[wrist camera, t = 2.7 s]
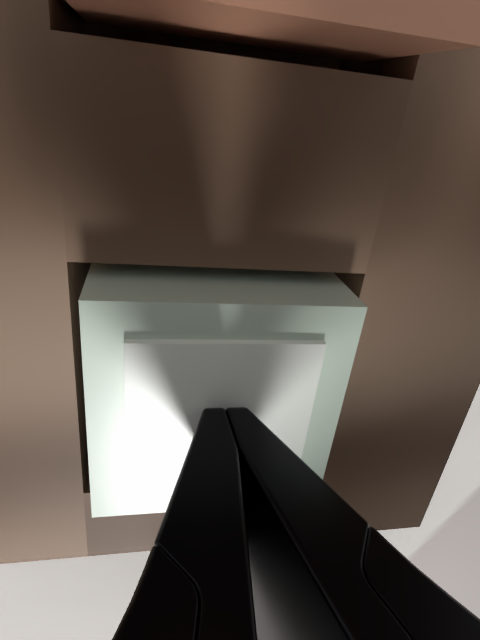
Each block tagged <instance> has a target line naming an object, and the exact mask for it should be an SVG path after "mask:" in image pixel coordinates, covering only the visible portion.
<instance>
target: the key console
mask: <svg viewBox="0 0 480 640" xmlns="http://www.w3.org/2000/svg"><path fill="white" fill-rule="evenodd" d="M91 263H107V264H133V265H158V266H183V267H208V268H233V269H259V270H284V271H309V272H333V273H334V274H335V275H336V276H337V277H338V278H339V279H340V280H341V281H342V282H343V283H344V284H345V285H346V286H347V287H348V288H349V289H350V290H351V291H352V292H353V293H354V294H355V295H356V296H357V297H358V298H359V299H360V300H361V301H362V302H363V303H364V304H365V305H366V306H367V307H368V308H367V312H366V315H365V319H364V323H363V327H362V331H361V335H360V338H359V342H358V346H357V350H356V354H355V358H354V362H353V365H352V369H351V373H350V377H349V381H348V385H347V389H346V392H345V396H344V400H343V404H342V408H341V412H340V415H339V419H338V423H337V427H336V431H335V435H334V439H333V442H332V446H331V450H330V454H329V458H328V462H327V465H326V469H325V473H324V477H323V480H324V481H325V482H326V483H327V484H328V485H329V486H330V487H331V488H332V489H333V490H334V491H335V492H336V493H337V494H338V495H340V496H341V497H342V498H343V499H344V500H345V501H346V502H347V503H348V504H349V505H350V506H351V507H352V508H353V509H354V510H355V511H356V512H357V513H358V514H360V515H361V516H362V517H363V518H364V519H365V520H366V521H367V522H368V523H369V527H373V528H375V529H376V530H387V529H398V528H409V527H420V524H421V522H422V520H423V517H424V515H425V513H426V510H427V508H428V505H429V503H430V501H431V498H432V496H433V493H434V491H435V489H436V486H437V484H438V482H439V479H440V477H441V474H442V472H443V470H444V467H445V465H446V463H447V460H448V458H449V455H450V453H451V451H452V448H453V446H454V444H455V441H456V439H457V436H458V434H459V432H460V429H461V427H462V425H463V422H464V420H465V417H466V415H467V413H468V410H469V408H470V406H471V403H472V401H473V398H474V396H475V394H476V391H477V389H478V386H479V384H480V47H475V48H467V49H459V50H451V51H443V52H436V53H428V54H420V55H412V56H404V57H396V58H388V59H380V60H372V61H364V62H361V61H354V60H347V59H340V58H334V57H327V56H320V55H313V54H306V53H299V52H292V51H285V50H279V49H272V48H265V47H258V46H251V45H244V44H237V43H230V42H224V41H217V40H210V39H203V38H196V37H189V36H182V35H175V34H168V33H162V32H155V31H148V30H141V29H134V28H127V27H120V26H113V25H107V24H100V23H93V22H86V21H85V20H84V19H83V18H82V17H81V16H80V15H79V14H78V13H77V12H76V11H75V10H74V9H73V8H72V7H71V6H70V5H69V4H68V3H67V2H66V1H65V0H0V564H4V563H16V562H27V561H38V560H49V559H61V558H72V557H83V556H94V555H106V554H117V553H128V552H139V551H151V549H152V547H153V546H154V542H155V539H156V536H157V534H158V531H159V528H160V526H161V523H162V520H163V517H164V515H165V512H163V513H149V514H135V515H121V516H107V517H93V518H92V513H91V496H90V480H89V464H88V448H87V432H86V415H85V399H84V383H83V367H82V351H81V334H80V318H79V302H78V300H79V297H80V294H81V292H82V289H83V286H84V283H85V280H86V277H87V274H88V271H89V268H90V265H91Z"/></svg>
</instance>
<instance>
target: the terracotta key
mask: <svg viewBox="0 0 480 640" xmlns="http://www.w3.org/2000/svg"><path fill="white" fill-rule="evenodd" d="M65 1H66V2H67V3H68V4H69V5H70V6H71V7H72V8H73V9H74V10H75V11H76V12H77V13H78V14H79V15H80V16H81V17H82V18H83V19H84V20H85V21H86V22H93V23H100V24H107V25H113V26H120V27H127V28H134V29H141V30H148V31H155V32H162V33H168V34H175V35H182V36H189V37H196V38H203V39H210V40H217V41H224V42H230V43H237V44H244V45H251V46H258V47H265V48H272V49H279V50H285V51H292V52H299V53H306V54H313V55H320V56H327V57H334V58H340V59H347V60H354V61H361V62H364V61H372V60H380V59H388V58H396V57H404V56H412V55H420V54H428V53H436V52H443V51H451V50H459V49H467V48H475V47H480V0H65Z"/></svg>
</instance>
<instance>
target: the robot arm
mask: <svg viewBox="0 0 480 640" xmlns="http://www.w3.org/2000/svg"><path fill="white" fill-rule="evenodd" d="M112 640H480V619H479V618H478V617H477V616H475V615H474V614H473V613H472V612H470V611H469V610H468V609H467V608H465V607H464V606H463V605H461V604H460V603H459V602H458V601H457V600H455V599H454V598H453V597H451V596H450V595H449V594H448V593H447V592H446V591H444V590H443V589H442V588H441V587H440V586H438V585H437V584H436V583H435V582H434V581H432V580H431V579H430V578H429V577H428V576H426V575H425V574H424V573H423V572H422V571H420V570H419V569H418V568H417V567H416V566H414V565H413V564H412V563H411V562H410V561H409V560H408V559H407V558H406V557H405V556H404V555H402V554H401V553H400V552H399V551H398V550H397V549H396V548H395V547H394V546H393V545H391V544H390V543H389V542H388V541H387V540H386V539H385V538H384V537H383V536H382V535H381V534H380V533H379V532H378V531H377V530H376V529H375V528H373V527H369V523H368V522H367V521H366V520H365V519H364V518H363V517H362V516H361V515H360V514H358V513H357V512H356V511H355V510H354V509H353V508H352V507H351V506H350V505H349V504H348V503H347V502H346V501H345V500H344V499H343V498H342V497H341V496H340V495H338V494H337V493H336V492H335V491H334V490H333V489H332V488H331V487H330V486H329V485H328V484H327V483H326V482H325V481H324V480H323V479H322V478H321V477H319V476H318V475H317V474H316V473H315V472H314V471H313V470H312V469H311V468H310V467H309V466H308V465H307V464H306V463H305V462H304V461H303V460H302V459H301V458H299V457H298V456H297V455H296V454H295V453H294V452H293V451H292V450H291V449H290V448H289V447H288V446H287V445H286V444H285V443H284V442H283V441H282V440H281V439H279V438H278V437H277V436H276V435H275V434H274V433H273V432H272V431H271V430H270V429H269V428H268V427H267V426H266V425H265V424H264V423H263V422H262V421H261V420H259V419H258V418H257V417H256V416H255V415H254V414H253V413H252V412H251V411H250V410H249V409H248V408H246V407H230V408H227V409H226V410H225V409H223V408H205V409H204V410H203V412H202V414H201V417H200V420H199V423H198V425H197V428H196V431H195V433H194V436H193V439H192V441H191V444H190V447H189V450H188V452H187V455H186V458H185V460H184V463H183V466H182V469H181V471H180V474H179V477H178V479H177V482H176V485H175V488H174V490H173V493H172V496H171V498H170V501H169V504H168V507H167V509H166V512H165V515H164V517H163V520H162V523H161V526H160V528H159V531H158V534H157V536H156V539H155V542H154V546H153V547H152V549H151V552H150V555H149V557H148V560H147V563H146V565H145V568H144V570H143V573H142V575H141V578H140V580H139V583H138V585H137V587H136V590H135V592H134V595H133V597H132V600H131V602H130V604H129V606H128V608H127V610H126V612H125V614H124V616H123V618H122V620H121V622H120V624H119V627H118V629H117V631H116V633H115V635H114V637H113V639H112Z"/></svg>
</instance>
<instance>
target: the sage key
mask: <svg viewBox="0 0 480 640" xmlns="http://www.w3.org/2000/svg"><path fill="white" fill-rule="evenodd" d="M78 302H79V318H80V334H81V351H82V367H83V383H84V399H85V415H86V432H87V448H88V464H89V480H90V496H91V513H92V518H93V517H107V516H121V515H135V514H149V513H163V512H166V509H167V507H168V504H169V501H170V498H171V496H172V493H173V490H174V488H175V485H176V482H177V479H178V477H179V474H180V471H181V469H182V466H183V463H184V460H185V458H186V455H187V452H188V450H189V447H190V444H191V441H192V439H193V436H194V433H195V431H196V428H197V425H198V423H199V420H200V417H201V414H202V412H203V410H204V409H205V408H223V409H225V410H226V409H227V408H230V407H246V408H248V409H249V410H250V411H251V412H252V413H253V414H254V415H255V416H256V417H257V418H258V419H259V420H261V421H262V422H263V423H264V424H265V425H266V426H267V427H268V428H269V429H270V430H271V431H272V432H273V433H274V434H275V435H276V436H277V437H278V438H279V439H281V440H282V441H283V442H284V443H285V444H286V445H287V446H288V447H289V448H290V449H291V450H292V451H293V452H294V453H295V454H296V455H297V456H298V457H299V458H301V459H302V460H303V461H304V462H305V463H306V464H307V465H308V466H309V467H310V468H311V469H312V470H313V471H314V472H315V473H316V474H317V475H318V476H319V477H321V478H322V479H323V477H324V473H325V469H326V465H327V462H328V458H329V454H330V450H331V446H332V442H333V439H334V435H335V431H336V427H337V423H338V419H339V415H340V412H341V408H342V404H343V400H344V396H345V392H346V389H347V385H348V381H349V377H350V373H351V369H352V365H353V362H354V358H355V354H356V350H357V346H358V342H359V338H360V335H361V331H362V327H363V323H364V319H365V315H366V312H367V308H368V307H367V306H366V305H365V304H364V303H363V302H362V301H361V300H360V299H359V298H358V297H357V296H356V295H355V294H354V293H353V292H352V291H351V290H350V289H349V288H348V287H347V286H346V285H345V284H344V283H343V282H342V281H341V280H340V279H339V278H338V277H337V276H336V275H335V274H334V273H333V272H309V271H284V270H259V269H233V268H208V267H183V266H158V265H133V264H107V263H91V265H90V268H89V271H88V274H87V277H86V280H85V283H84V286H83V289H82V292H81V294H80V297H79V300H78Z"/></svg>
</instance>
